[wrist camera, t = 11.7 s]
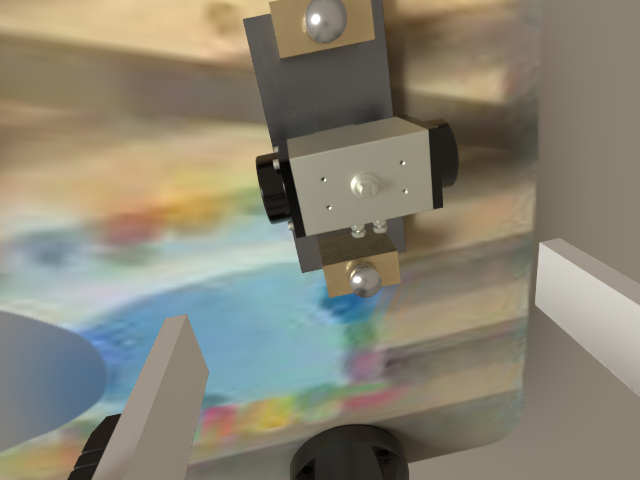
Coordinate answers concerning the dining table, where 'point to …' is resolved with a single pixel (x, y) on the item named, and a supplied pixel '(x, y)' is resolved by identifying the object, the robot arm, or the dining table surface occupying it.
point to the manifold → (329, 115)
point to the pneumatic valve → (358, 175)
